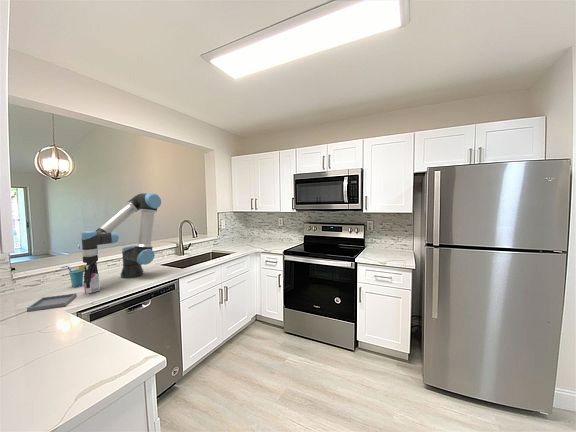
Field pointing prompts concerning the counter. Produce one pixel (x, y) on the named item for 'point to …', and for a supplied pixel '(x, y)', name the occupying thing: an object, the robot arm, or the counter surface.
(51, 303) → the tray
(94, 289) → the supplement box
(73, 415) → the counter surface
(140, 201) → the robot arm
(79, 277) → the cup
